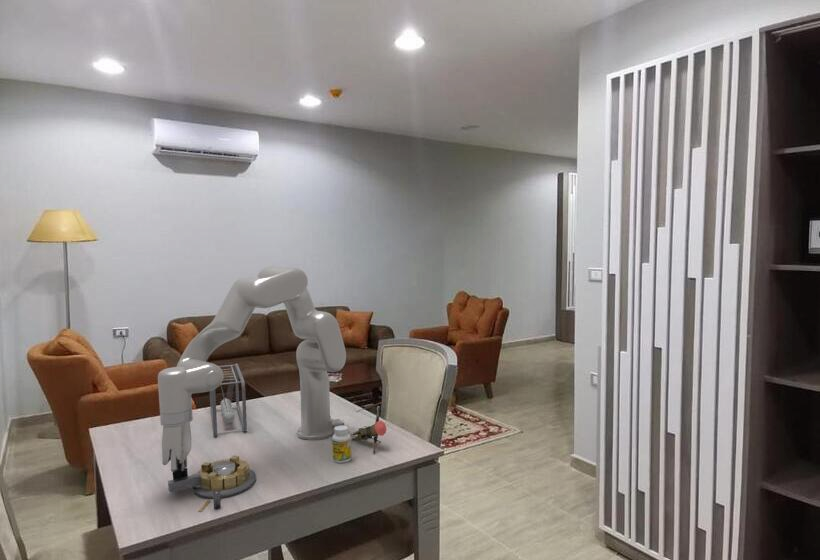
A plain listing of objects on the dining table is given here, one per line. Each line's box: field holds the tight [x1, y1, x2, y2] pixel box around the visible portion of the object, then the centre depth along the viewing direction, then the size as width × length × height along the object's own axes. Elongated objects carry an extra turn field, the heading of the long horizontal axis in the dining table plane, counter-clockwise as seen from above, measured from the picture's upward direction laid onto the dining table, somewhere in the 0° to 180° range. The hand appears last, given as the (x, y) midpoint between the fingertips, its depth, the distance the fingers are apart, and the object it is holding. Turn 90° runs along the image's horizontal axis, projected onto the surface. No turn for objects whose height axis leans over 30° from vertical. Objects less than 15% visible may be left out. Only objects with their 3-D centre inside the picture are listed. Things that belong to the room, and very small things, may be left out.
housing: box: [191, 461, 257, 513], centre depth 135 cm, size 16×21×5 cm
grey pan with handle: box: [167, 455, 250, 493], centre depth 135 cm, size 20×12×4 cm, turn 123°
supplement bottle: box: [331, 425, 352, 464], centre depth 152 cm, size 5×5×10 cm
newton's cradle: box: [209, 363, 248, 437], centre depth 184 cm, size 30×10×18 cm, turn 23°
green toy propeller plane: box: [349, 397, 395, 455], centre depth 162 cm, size 16×10×20 cm
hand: (180, 484), depth 134 cm, fingers closed
